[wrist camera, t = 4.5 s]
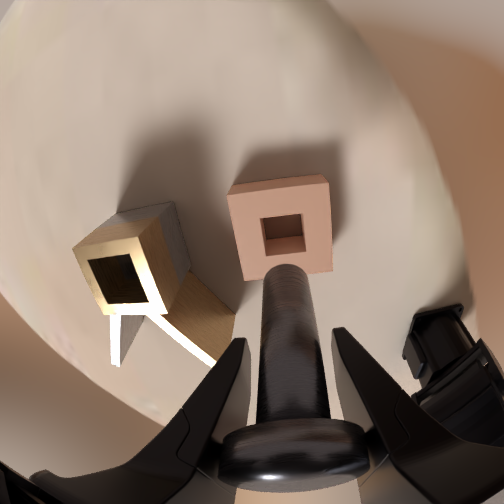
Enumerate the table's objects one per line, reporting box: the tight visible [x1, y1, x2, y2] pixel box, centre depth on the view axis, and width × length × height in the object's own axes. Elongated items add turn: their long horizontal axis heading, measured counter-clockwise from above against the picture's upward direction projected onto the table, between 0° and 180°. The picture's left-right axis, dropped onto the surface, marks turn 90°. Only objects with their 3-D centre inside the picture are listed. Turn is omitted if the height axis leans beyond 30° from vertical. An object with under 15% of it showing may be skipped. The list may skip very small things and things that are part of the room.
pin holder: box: [227, 174, 333, 281], centre depth 18 cm, size 6×6×2 cm
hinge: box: [72, 201, 235, 367], centre depth 19 cm, size 10×11×6 cm
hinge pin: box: [217, 264, 371, 493], centre depth 8 cm, size 4×4×8 cm
